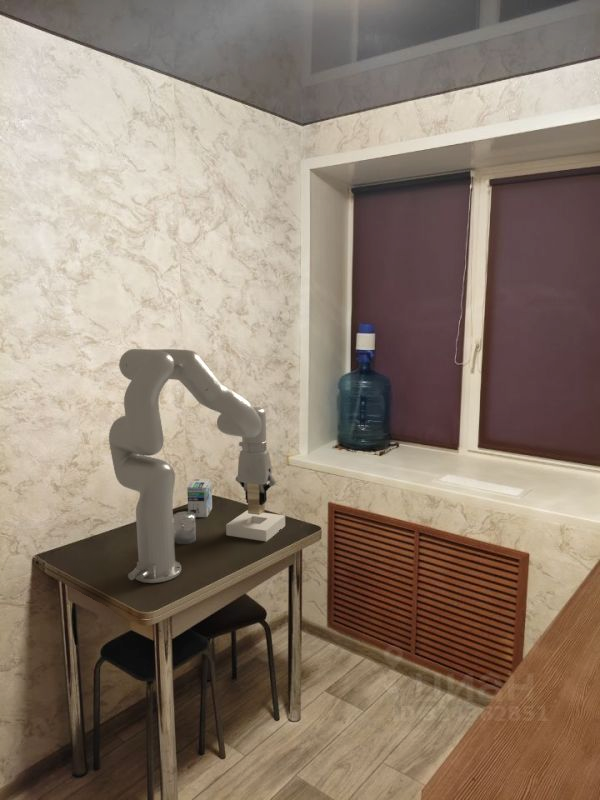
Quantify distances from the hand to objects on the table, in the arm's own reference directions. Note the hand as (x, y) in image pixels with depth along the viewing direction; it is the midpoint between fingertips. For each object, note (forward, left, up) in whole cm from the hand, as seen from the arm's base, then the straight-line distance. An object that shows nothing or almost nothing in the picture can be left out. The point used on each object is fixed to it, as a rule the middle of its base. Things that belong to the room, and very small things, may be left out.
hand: (256, 502), depth 185 cm
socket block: (0, 0, -9) cm, 9 cm away
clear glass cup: (-15, +17, -9) cm, 25 cm away
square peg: (0, 0, -3) cm, 3 cm away
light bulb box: (+8, +26, -10) cm, 29 cm away
